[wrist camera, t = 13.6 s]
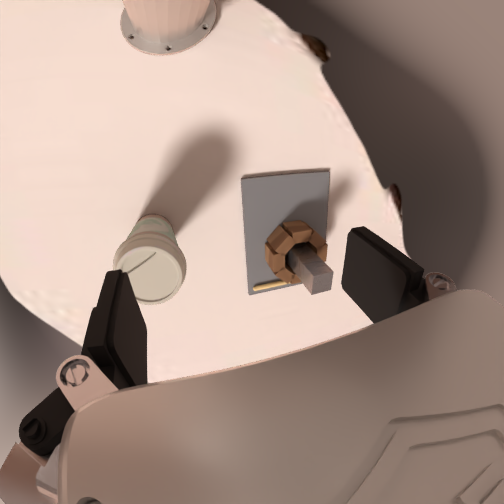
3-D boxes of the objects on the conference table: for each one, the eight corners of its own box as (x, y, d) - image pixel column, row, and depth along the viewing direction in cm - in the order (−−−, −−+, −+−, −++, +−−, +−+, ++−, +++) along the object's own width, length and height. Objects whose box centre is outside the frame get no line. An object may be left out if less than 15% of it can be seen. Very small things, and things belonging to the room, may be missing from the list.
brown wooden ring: (264, 225, 41) (273, 236, 38) (316, 217, 43) (329, 226, 40) (265, 275, 46) (273, 288, 42) (313, 264, 48) (324, 276, 44)
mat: (240, 178, 38) (243, 180, 36) (327, 171, 41) (332, 173, 40) (248, 293, 47) (250, 298, 46) (320, 277, 50) (323, 281, 49)
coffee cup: (181, 203, 37) (186, 238, 27) (183, 257, 41) (189, 306, 31) (121, 206, 35) (104, 243, 24) (128, 260, 38) (118, 311, 28)
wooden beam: (282, 239, 44) (313, 276, 34) (299, 236, 44) (333, 271, 35) (281, 256, 45) (311, 294, 36) (298, 253, 46) (330, 289, 36)
